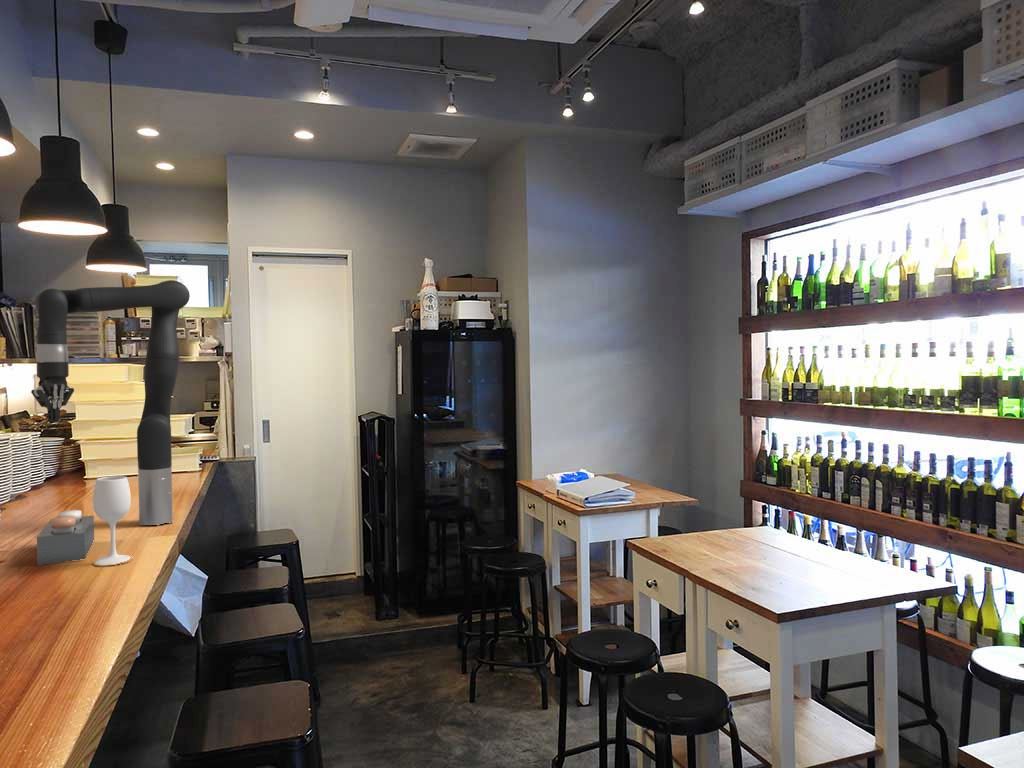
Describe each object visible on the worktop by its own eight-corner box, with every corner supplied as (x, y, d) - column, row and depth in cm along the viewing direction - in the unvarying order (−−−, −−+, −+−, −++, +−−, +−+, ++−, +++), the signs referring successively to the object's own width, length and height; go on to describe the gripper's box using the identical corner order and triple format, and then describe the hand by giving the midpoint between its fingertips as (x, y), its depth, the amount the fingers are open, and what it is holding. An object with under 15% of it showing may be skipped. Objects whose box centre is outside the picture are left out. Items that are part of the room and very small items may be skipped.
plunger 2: (77, 542, 182) (76, 515, 182) (74, 547, 177) (74, 519, 177) (53, 544, 180) (53, 517, 179) (50, 549, 175) (49, 521, 175)
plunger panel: (94, 540, 196) (93, 515, 196) (84, 560, 176) (84, 532, 176) (51, 544, 192) (51, 519, 191) (37, 565, 172) (36, 537, 172)
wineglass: (124, 555, 181) (122, 474, 180) (139, 561, 176) (137, 477, 175) (87, 562, 174) (85, 478, 174) (101, 569, 169) (99, 482, 168)
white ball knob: (83, 534, 193) (82, 509, 192) (80, 539, 188) (80, 513, 188) (60, 536, 190) (60, 511, 190) (57, 541, 186) (57, 514, 186)
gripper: (59, 360, 204) (61, 419, 205) (20, 360, 191) (22, 423, 192) (82, 360, 203) (83, 420, 204) (45, 360, 190) (46, 424, 191)
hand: (53, 421), depth 198 cm, fingers closed
